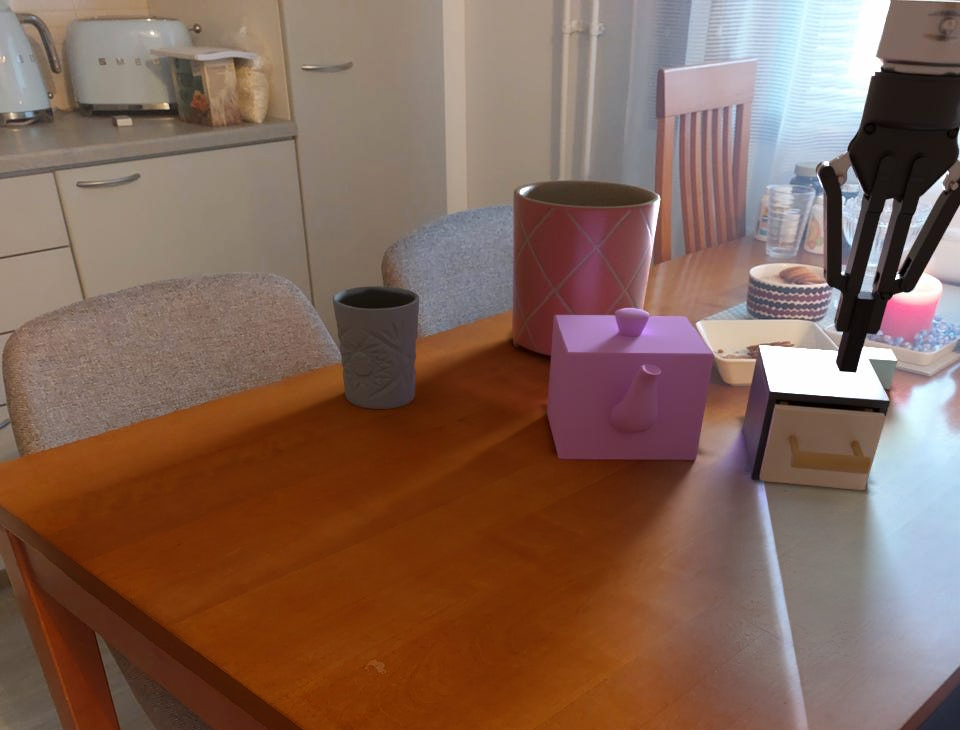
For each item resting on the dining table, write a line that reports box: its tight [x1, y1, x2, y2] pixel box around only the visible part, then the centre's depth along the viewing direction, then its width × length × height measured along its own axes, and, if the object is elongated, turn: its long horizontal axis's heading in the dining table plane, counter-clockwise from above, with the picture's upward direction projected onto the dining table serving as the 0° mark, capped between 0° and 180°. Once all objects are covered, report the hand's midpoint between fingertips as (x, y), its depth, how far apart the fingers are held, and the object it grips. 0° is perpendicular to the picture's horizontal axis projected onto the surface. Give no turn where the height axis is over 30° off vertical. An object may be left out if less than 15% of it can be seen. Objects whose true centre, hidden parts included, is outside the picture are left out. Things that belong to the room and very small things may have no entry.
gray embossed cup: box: [332, 285, 420, 410], centre depth 111 cm, size 10×10×12 cm
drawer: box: [759, 399, 887, 491], centre depth 95 cm, size 19×10×8 cm, turn 170°
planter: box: [511, 179, 661, 357], centre depth 126 cm, size 19×19×20 cm
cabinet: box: [742, 345, 891, 481], centre depth 100 cm, size 15×12×10 cm
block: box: [862, 346, 899, 390], centre depth 119 cm, size 5×5×5 cm
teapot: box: [546, 308, 715, 461], centre depth 101 cm, size 15×25×14 cm, turn 2°
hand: (845, 367), depth 85 cm, fingers closed
